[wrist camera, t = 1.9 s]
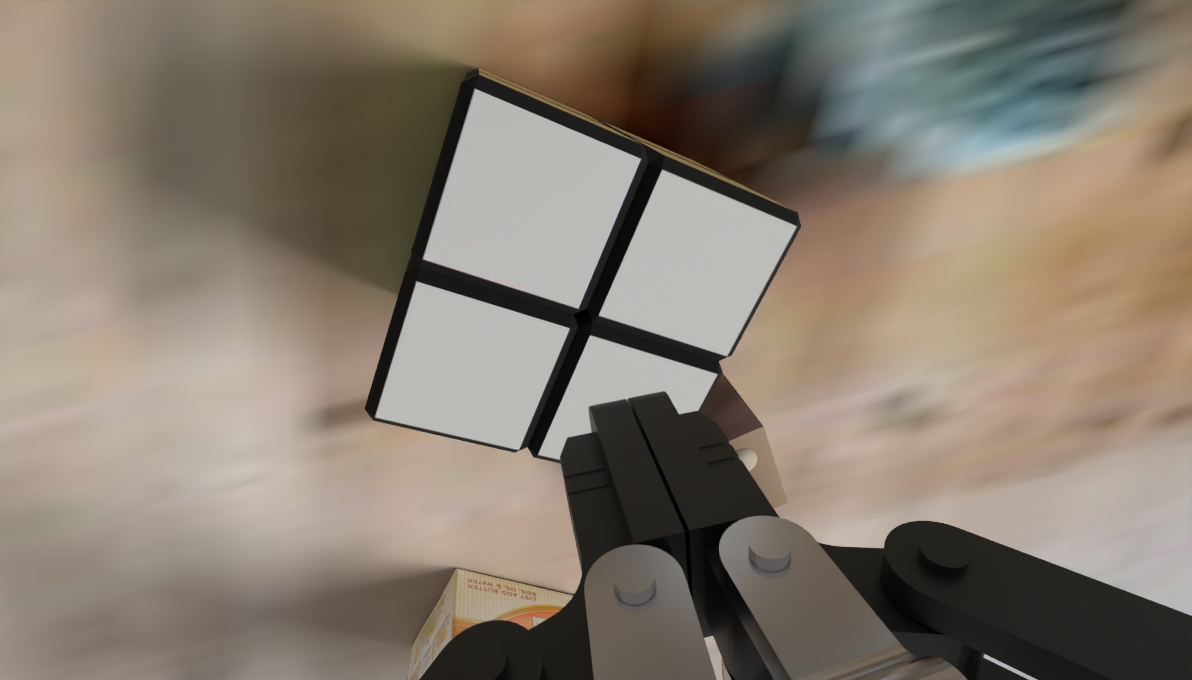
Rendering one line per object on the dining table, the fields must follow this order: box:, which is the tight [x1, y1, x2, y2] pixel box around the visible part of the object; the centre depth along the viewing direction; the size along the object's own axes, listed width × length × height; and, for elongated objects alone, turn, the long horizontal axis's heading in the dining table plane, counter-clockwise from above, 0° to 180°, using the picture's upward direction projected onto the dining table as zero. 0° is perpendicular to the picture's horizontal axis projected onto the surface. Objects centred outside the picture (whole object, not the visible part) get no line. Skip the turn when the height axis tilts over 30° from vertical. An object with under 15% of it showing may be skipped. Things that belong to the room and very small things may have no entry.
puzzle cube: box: [365, 68, 801, 463], centre depth 21 cm, size 10×10×10 cm
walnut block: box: [701, 373, 787, 509], centre depth 29 cm, size 5×5×5 cm
